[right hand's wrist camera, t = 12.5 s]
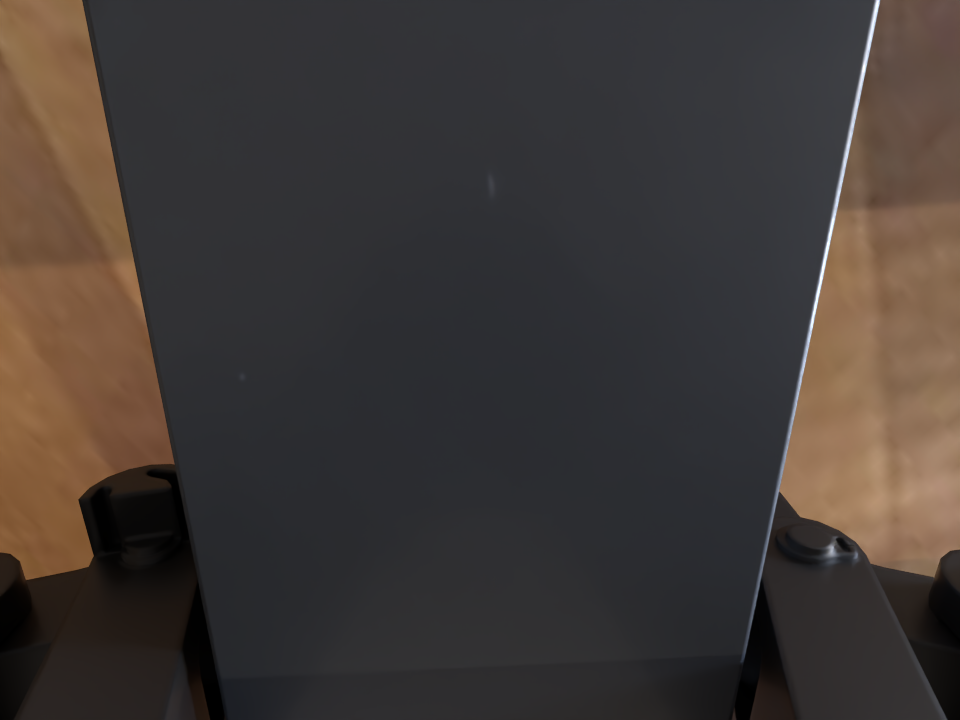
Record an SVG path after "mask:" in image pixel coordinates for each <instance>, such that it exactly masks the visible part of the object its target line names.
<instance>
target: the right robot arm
mask: <svg viewBox="0 0 960 720" xmlns="http://www.w3.org/2000/svg"><path fill="white" fill-rule="evenodd" d="M79 504H80V507H81V511H82V515H83V518H84V522H85V526H86V529H87V533H88V536H89V540H90V544H91V547H92V551H93V554H94V557H93V559H92V561H91V563H90V565H89V567H86V568H83V569H79V570H75V571H70V572H65V573H60V574H55V575H50V576H45V577H40V578H35V579H30V580H26V579H25V576H24V573H23V570H22V567H21V564H20V561H19V560H17V559H16V558H15V557H13V556H12V555H11V554H7V553H0V720H226V719H225V714H224V709H223V704H222V699H221V694H220V689H219V684H218V679H217V674H216V669H215V664H214V659H213V654H212V649H211V644H210V639H209V634H208V629H207V624H206V619H205V614H204V609H203V604H202V599H201V593H200V588H199V583H198V578H197V573H196V568H195V563H194V558H193V553H192V548H191V543H190V538H189V533H188V528H187V523H186V518H185V513H184V508H183V503H182V498H181V493H180V488H179V483H178V478H177V473H176V468H175V465H173V464H161V465H148V466H143V467H138V468H133V469H129V470H126V471H123V472H120V473H118V474H115V475H112V476H110V477H107V478H106V479H104V480H102V481H100V482H99V483H97V484H95V485H94V486H92V487H90V488H89V489H88V490H87V491H86V492H85V493H84V494H83V495H82V496H81V498H80V499H79ZM732 720H960V550H954V551H950V552H948V553H947V554H946V555H944V556H943V557H942V558H941V559H940V562H939V565H938V568H937V571H936V574H935V577H929V576H924V575H919V574H914V573H909V572H904V571H899V570H894V569H889V568H884V567H880V566H877V565H873V564H870V562H869V560H868V558H867V556H866V554H865V553H864V552H863V551H862V549H861V548H860V547H859V546H858V544H857V543H856V542H855V541H853V540H852V539H850V538H849V537H848V536H846V535H845V534H843V533H842V532H840V531H839V530H837V529H834V528H832V527H830V526H827V525H825V524H823V523H820V522H818V521H814V520H809V519H805V518H801V517H800V516H799V515H798V514H797V513H796V511H795V510H794V509H793V508H792V507H791V505H790V504H789V503H788V502H787V500H786V499H785V498H784V497H783V495H782V494H781V493H780V492H779V493H778V498H777V503H776V508H775V513H774V518H773V523H772V527H771V532H770V537H769V542H768V547H767V552H766V556H765V561H764V566H763V571H762V576H761V581H760V586H759V590H758V595H757V600H756V605H755V610H754V615H753V620H752V624H751V629H750V634H749V639H748V644H747V649H746V654H745V658H744V663H743V668H742V673H741V678H740V683H739V688H738V692H737V697H736V702H735V707H734V712H733V717H732Z"/></svg>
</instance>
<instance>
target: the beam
mask: <svg viewBox="0 0 960 720" xmlns="http://www.w3.org/2000/svg"><path fill="white" fill-rule="evenodd" d="M82 1H83V6H84V11H85V16H86V21H87V26H88V31H89V36H90V41H91V46H92V51H93V56H94V61H95V66H96V71H97V76H98V81H99V86H100V91H101V96H102V101H103V106H104V111H105V116H106V121H107V126H108V131H109V137H110V142H111V147H112V152H113V157H114V162H115V167H116V172H117V177H118V182H119V187H120V192H121V197H122V202H123V207H124V212H125V217H126V222H127V227H128V232H129V237H130V242H131V247H132V252H133V257H134V262H135V267H136V272H137V277H138V282H139V287H140V292H141V297H142V302H143V307H144V312H145V317H146V322H147V327H148V332H149V337H150V342H151V347H152V352H153V357H154V363H155V368H156V373H157V378H158V383H159V388H160V393H161V398H162V403H163V408H164V413H165V418H166V423H167V428H168V433H169V438H170V443H171V448H172V453H173V458H174V463H175V468H176V473H177V478H178V483H179V488H180V493H181V498H182V503H183V508H184V513H185V518H186V523H187V528H188V533H189V538H190V543H191V548H192V553H193V558H194V563H195V568H196V573H197V578H198V583H199V588H200V593H201V599H202V604H203V609H204V614H205V619H206V624H207V629H208V634H209V639H210V644H211V649H212V654H213V659H214V664H215V669H216V674H217V679H218V684H219V689H220V694H221V699H222V704H223V709H224V714H225V719H226V720H732V717H733V712H734V707H735V702H736V697H737V692H738V688H739V683H740V678H741V673H742V668H743V663H744V658H745V654H746V649H747V644H748V639H749V634H750V629H751V624H752V620H753V615H754V610H755V605H756V600H757V595H758V590H759V586H760V581H761V576H762V571H763V566H764V561H765V556H766V552H767V547H768V542H769V537H770V532H771V527H772V523H773V518H774V513H775V508H776V503H777V498H778V493H779V489H780V484H781V479H782V474H783V469H784V464H785V459H786V455H787V450H788V445H789V440H790V435H791V430H792V425H793V421H794V416H795V411H796V406H797V401H798V396H799V391H800V387H801V382H802V377H803V372H804V367H805V362H806V357H807V353H808V348H809V343H810V338H811V333H812V328H813V323H814V319H815V314H816V309H817V304H818V299H819V294H820V290H821V285H822V280H823V275H824V270H825V265H826V260H827V256H828V251H829V246H830V241H831V236H832V231H833V226H834V222H835V217H836V212H837V207H838V202H839V197H840V192H841V188H842V183H843V178H844V173H845V168H846V163H847V158H848V154H849V149H850V144H851V139H852V134H853V129H854V124H855V120H856V115H857V110H858V105H859V100H860V95H861V91H862V86H863V81H864V76H865V71H866V66H867V61H868V57H869V52H870V47H871V42H872V37H873V32H874V27H875V23H876V18H877V13H878V8H879V3H880V0H82Z"/></svg>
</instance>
